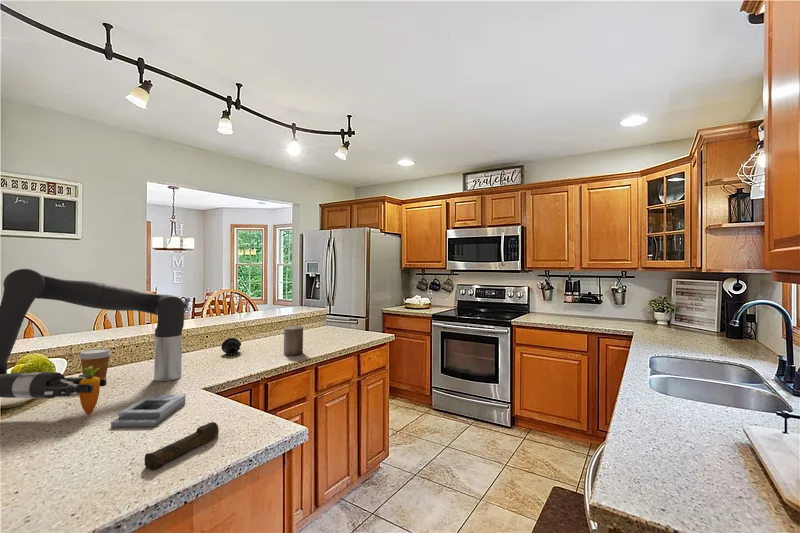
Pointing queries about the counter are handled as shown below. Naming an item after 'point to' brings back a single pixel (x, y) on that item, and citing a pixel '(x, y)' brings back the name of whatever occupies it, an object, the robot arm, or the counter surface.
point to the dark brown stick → (182, 446)
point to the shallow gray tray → (149, 411)
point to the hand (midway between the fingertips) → (98, 385)
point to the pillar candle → (293, 340)
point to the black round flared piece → (231, 346)
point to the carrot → (90, 398)
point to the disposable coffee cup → (96, 361)
